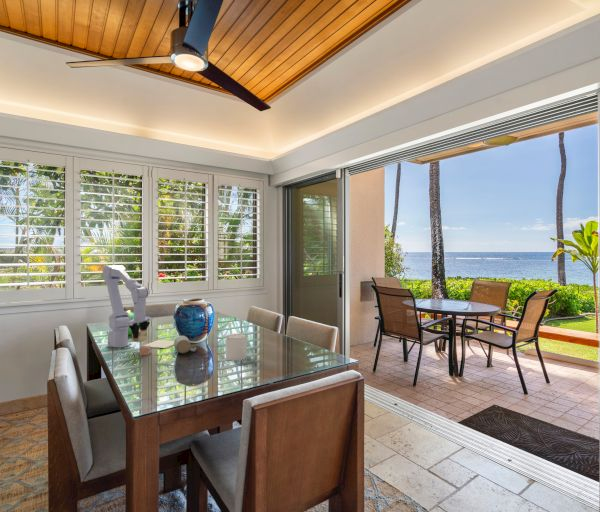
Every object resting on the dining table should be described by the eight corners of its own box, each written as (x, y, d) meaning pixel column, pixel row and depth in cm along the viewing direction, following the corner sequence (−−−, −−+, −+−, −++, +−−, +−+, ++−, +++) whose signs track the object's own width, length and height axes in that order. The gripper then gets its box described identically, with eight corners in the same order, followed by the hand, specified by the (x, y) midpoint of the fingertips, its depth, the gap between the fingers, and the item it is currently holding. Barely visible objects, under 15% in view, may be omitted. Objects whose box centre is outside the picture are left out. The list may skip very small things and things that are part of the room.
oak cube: (132, 341, 186) (132, 331, 186) (138, 338, 191) (138, 329, 191) (140, 341, 185) (140, 332, 185) (146, 339, 190) (147, 330, 190)
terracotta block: (139, 356, 178) (139, 347, 178) (142, 353, 182) (142, 345, 182) (148, 355, 178) (148, 347, 178) (150, 353, 182) (150, 345, 182)
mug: (224, 353, 184) (224, 332, 183) (245, 352, 186) (245, 331, 186) (226, 361, 170) (226, 338, 170) (247, 359, 173) (248, 337, 173)
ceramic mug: (176, 354, 180) (176, 339, 180) (173, 350, 188) (174, 336, 188) (197, 352, 185) (198, 337, 185) (194, 349, 192) (195, 334, 192)
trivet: (142, 347, 194) (142, 345, 194) (158, 340, 208) (158, 339, 208) (165, 348, 191) (165, 347, 191) (180, 342, 205) (180, 341, 205)
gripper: (136, 313, 180) (136, 340, 180) (155, 309, 194) (155, 334, 194) (124, 312, 182) (124, 339, 182) (143, 308, 196) (143, 333, 196)
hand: (139, 336), depth 188 cm, fingers closed on oak cube, 5 cm apart
